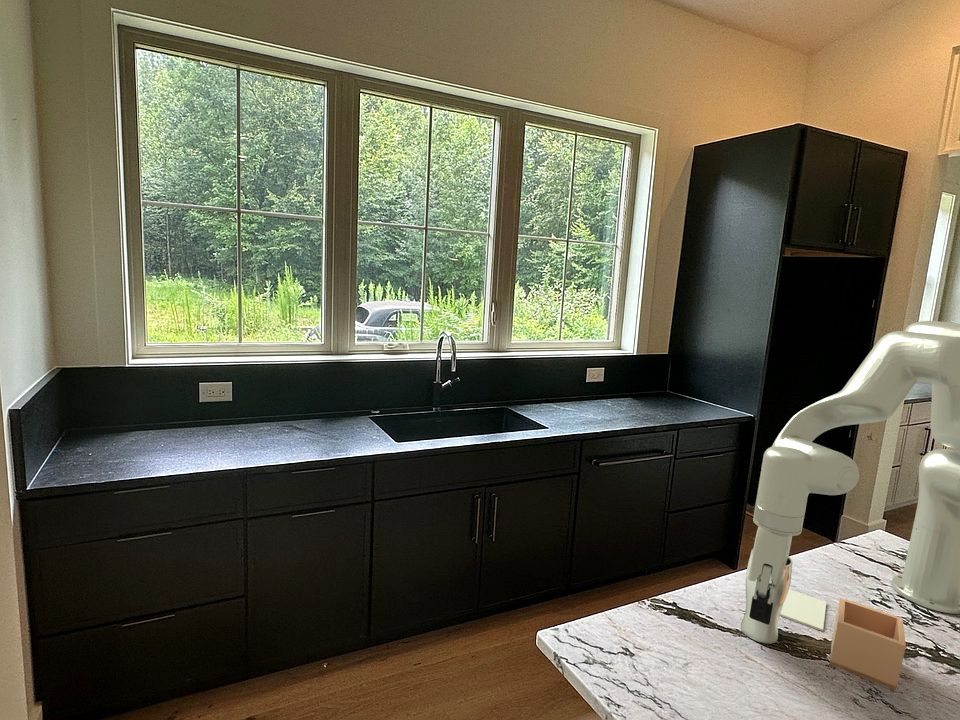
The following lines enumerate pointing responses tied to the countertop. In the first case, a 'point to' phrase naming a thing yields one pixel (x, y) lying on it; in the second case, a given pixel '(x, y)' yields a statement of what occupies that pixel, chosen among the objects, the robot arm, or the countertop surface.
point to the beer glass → (770, 631)
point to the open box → (868, 643)
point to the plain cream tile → (804, 610)
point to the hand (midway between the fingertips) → (762, 610)
